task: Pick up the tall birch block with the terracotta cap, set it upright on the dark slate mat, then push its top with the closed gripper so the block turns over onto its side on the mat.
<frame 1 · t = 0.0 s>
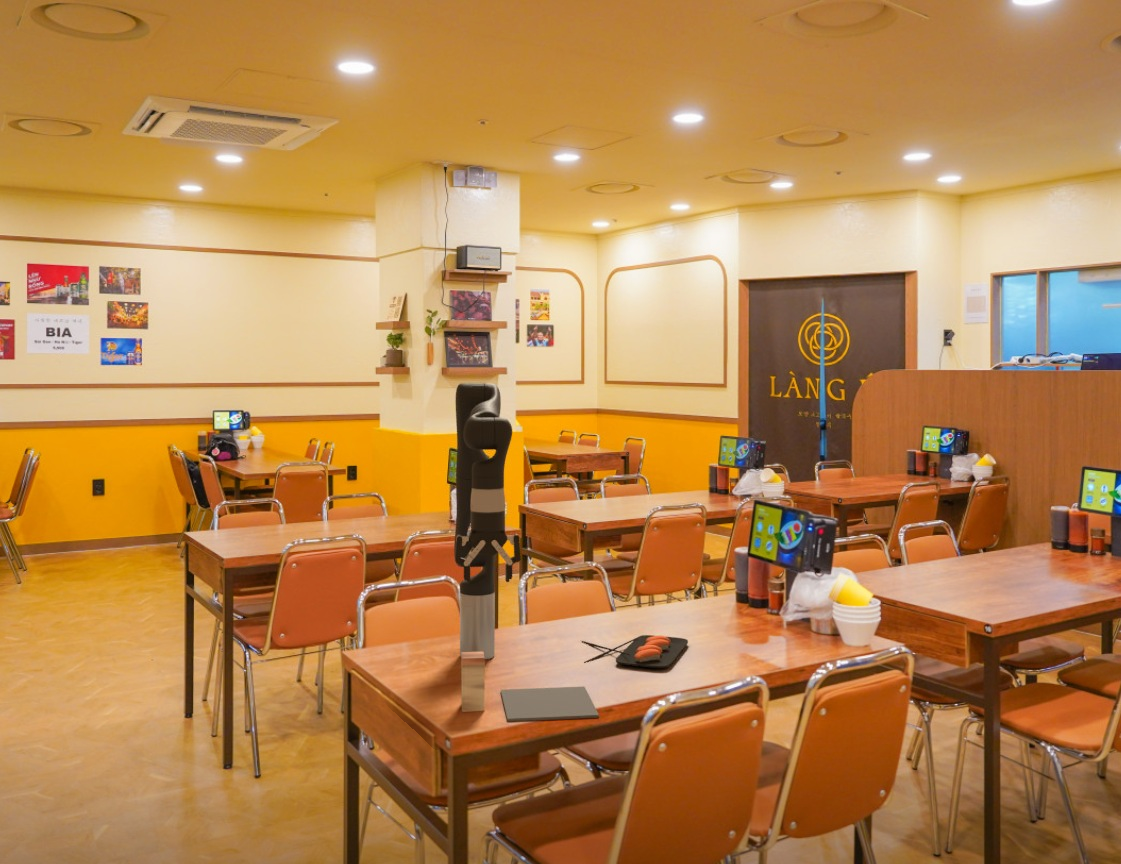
hand: (487, 581, 215), 29 cm above the table, fingers open, 8 cm apart
birch block: (472, 707, 220), on the table
sushi plate: (625, 654, 265), on the table
slate mat: (547, 704, 222), on the table
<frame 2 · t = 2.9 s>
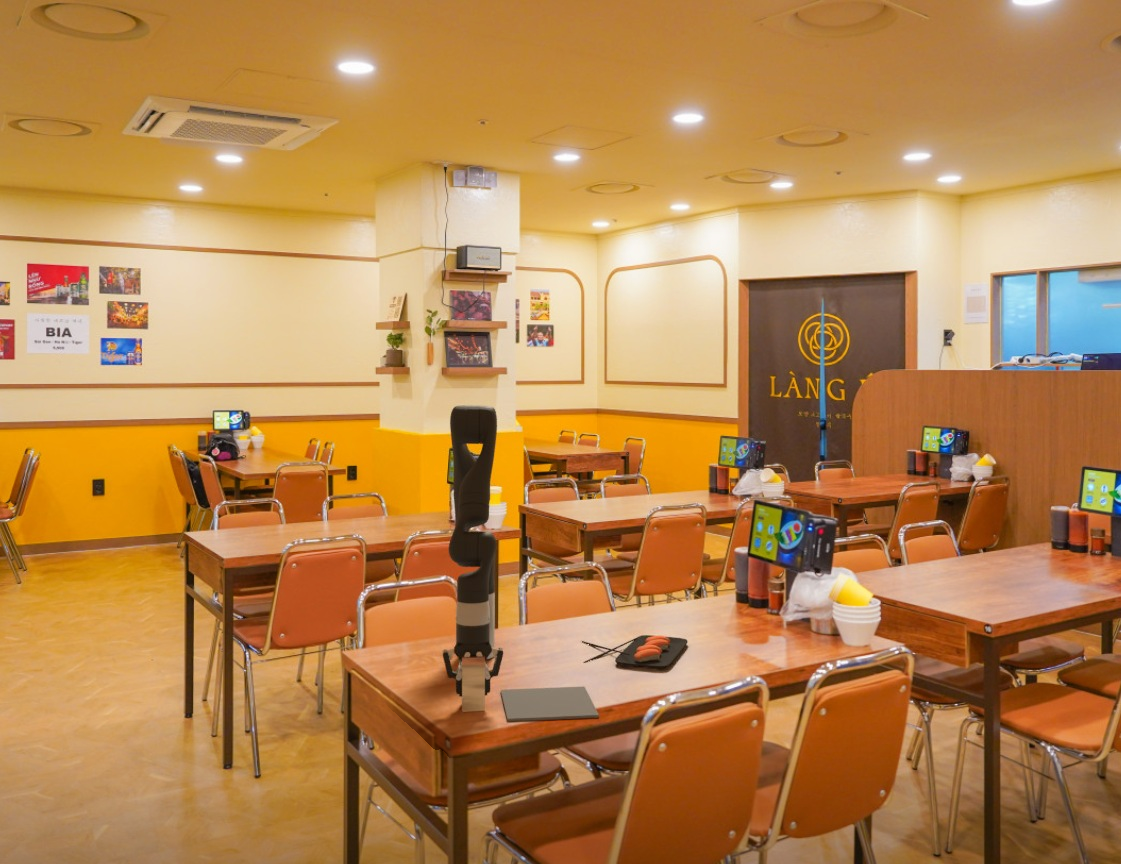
hand: (472, 694, 220), 3 cm above the table, fingers closed on birch block, 5 cm apart
birch block: (473, 707, 220), on the table, touching gripper
everything else where it was.
when the fingers open (5 cm above the table, at t = 8.8 s): birch block drops 1 cm, resting on slate mat.
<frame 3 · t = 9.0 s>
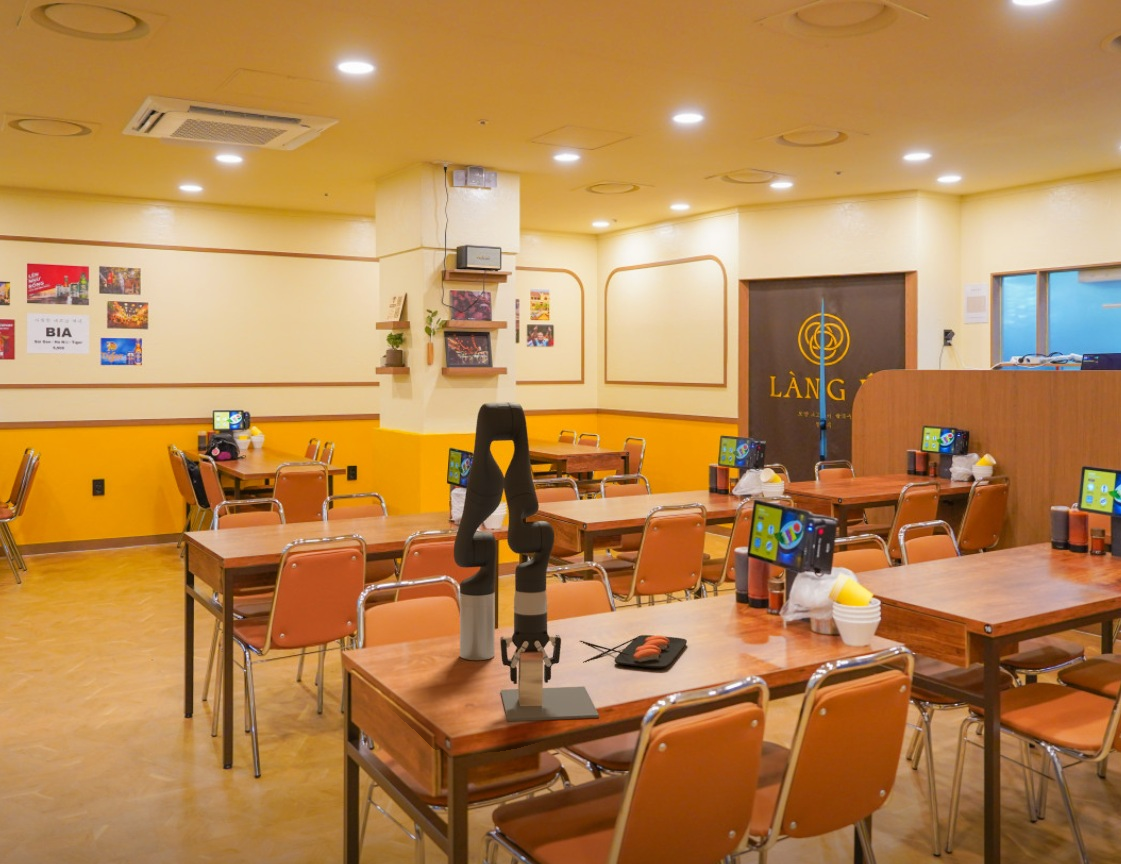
hand: (530, 682, 221), 5 cm above the table, fingers open, 6 cm apart
birch block: (530, 702, 221), point 1 cm above the table, touching slate mat
everything else where it was.
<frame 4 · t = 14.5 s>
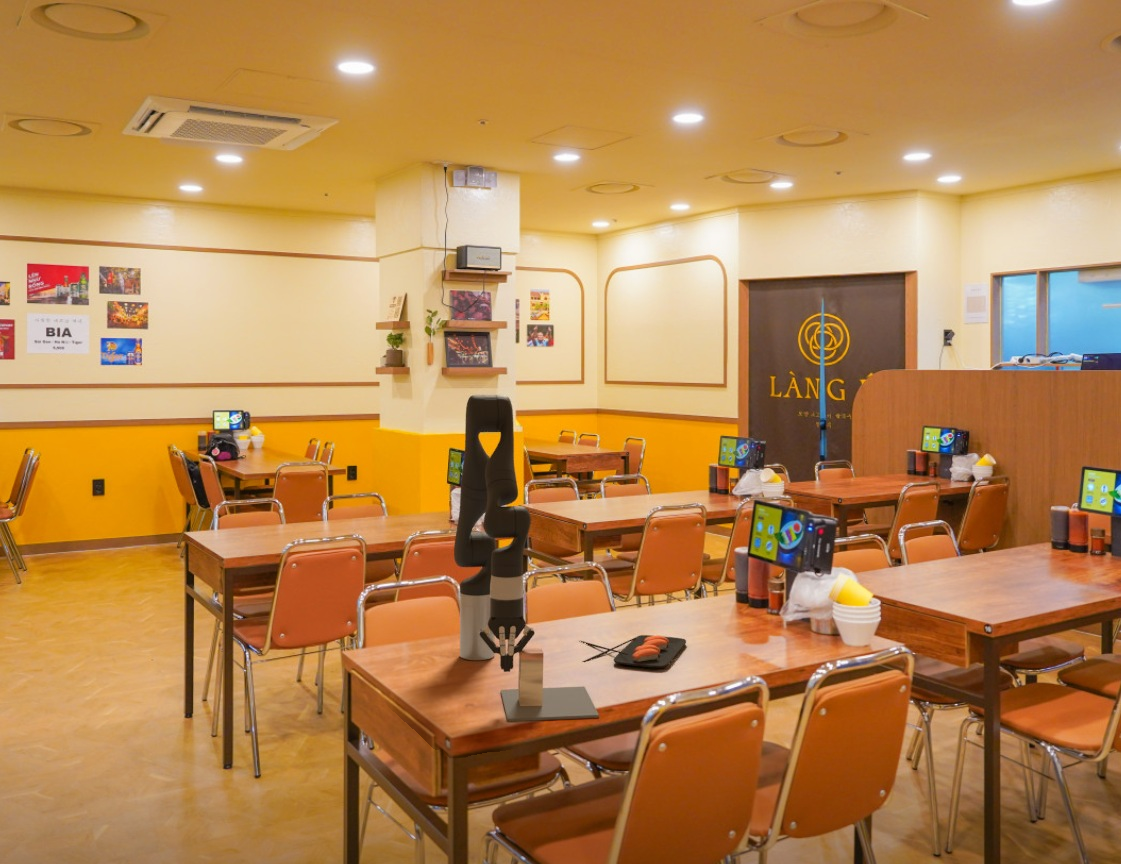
hand: (506, 670, 220), 8 cm above the table, fingers closed
birch block: (530, 702, 221), point 1 cm above the table, touching gripper, slate mat
everything else where it was.
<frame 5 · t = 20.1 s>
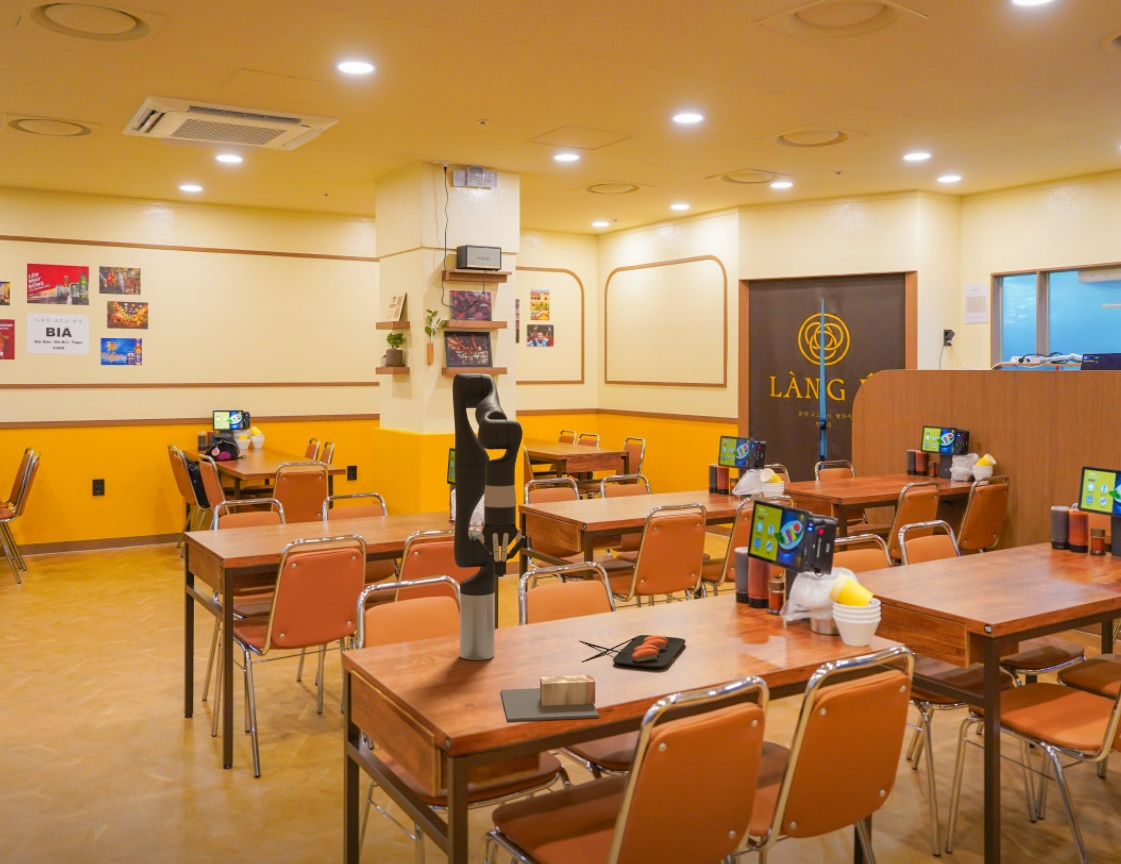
hand: (499, 576, 232), 27 cm above the table, fingers closed
birch block: (541, 691, 222), point 3 cm above the table, tilted 90°, touching slate mat
everything else where it was.
at the end: birch block tilted 90°; birch block inside the target area on the slate mat (1.5 cm from its centre), point 3.1 cm above the slate mat's base; the gripper is holding nothing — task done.
